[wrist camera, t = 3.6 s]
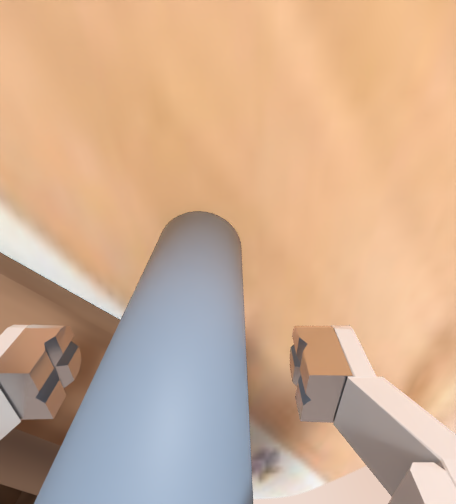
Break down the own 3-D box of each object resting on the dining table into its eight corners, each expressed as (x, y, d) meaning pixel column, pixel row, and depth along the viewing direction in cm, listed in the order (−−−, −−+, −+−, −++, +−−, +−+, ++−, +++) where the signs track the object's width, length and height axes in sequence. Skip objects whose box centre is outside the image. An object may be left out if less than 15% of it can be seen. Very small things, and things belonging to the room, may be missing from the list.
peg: (207, 295, 14) (165, 630, 6) (143, 253, 13) (-34, 591, 4) (258, 246, 13) (310, 593, 4) (192, 193, 12) (71, 522, 3)
